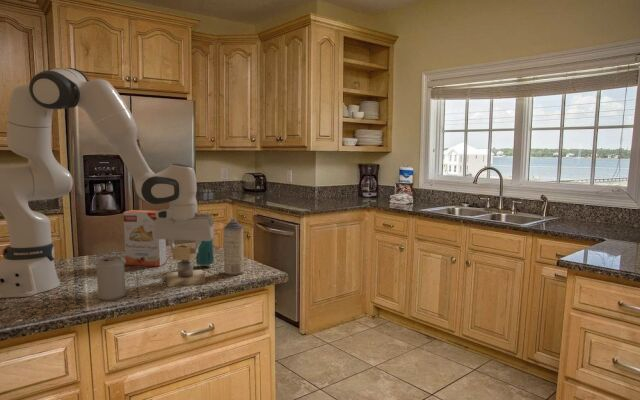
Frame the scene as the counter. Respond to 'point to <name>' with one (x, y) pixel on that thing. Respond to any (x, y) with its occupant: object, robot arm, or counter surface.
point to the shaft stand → (185, 274)
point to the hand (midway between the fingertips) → (184, 252)
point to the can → (110, 278)
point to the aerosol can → (233, 248)
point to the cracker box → (142, 239)
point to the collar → (183, 252)
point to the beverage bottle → (205, 253)
